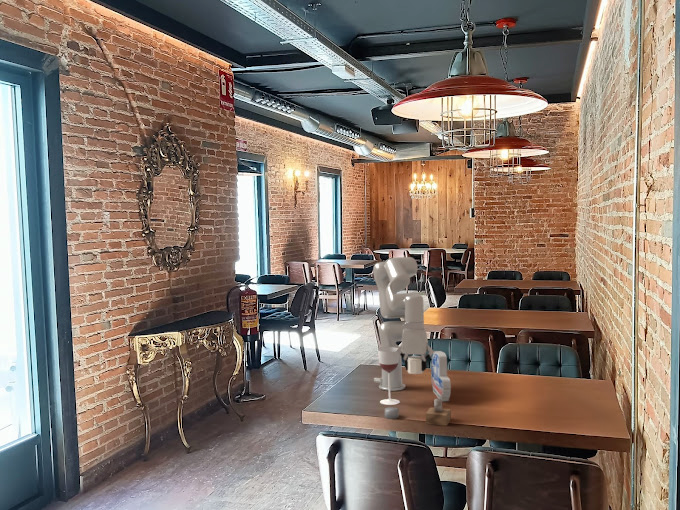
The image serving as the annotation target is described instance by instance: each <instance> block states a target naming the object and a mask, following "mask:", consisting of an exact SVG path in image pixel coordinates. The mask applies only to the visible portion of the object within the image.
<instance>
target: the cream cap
mask: <svg viewBox="0 0 680 510" xmlns="http://www.w3.org/2000/svg"><path fill="white" fill-rule="evenodd" d="M422 360H423V359H422V357H421V355H420V356H419V355H409V357H408V360H407V361H408V370H407V373H408V374H410V375H411V374H412V375H420V374H423V373H424V372H425V370H424V371H422Z"/></svg>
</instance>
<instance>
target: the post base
mask: <svg viewBox="0 0 680 510" xmlns="http://www.w3.org/2000/svg"><path fill="white" fill-rule="evenodd" d="M433 402H434V403H433V406H434V407H430V408H428V410H427V411H426V412H425V424H426V425H433V426H434V425H436V426H448V425H449V423H450V421H452V410H451V408H443V402H442V399H439V398H435V399H434V400H433Z"/></svg>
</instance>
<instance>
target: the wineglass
mask: <svg viewBox="0 0 680 510" xmlns="http://www.w3.org/2000/svg"><path fill="white" fill-rule="evenodd" d="M397 349H398V348H395V347H384V348H381V347H379V348H378V349H377V355H378V356H377V358H378V363H379V365H380V368H381V370H382V369H383V370H385V371H386V372H388V390H389V391H388V398H386V399H382V400H380V401H379V403H380V404H381V405H387V406H392V405H397V404H399V403H401V402H400V400H398V399H395V398H391V397H392V396H391V394H392V393H391V392H392V391H391V390H390V372H391V371H393V370H394V369H396V367H397V365H398V362H399V353H398V352H397Z"/></svg>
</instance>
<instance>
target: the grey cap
mask: <svg viewBox="0 0 680 510" xmlns="http://www.w3.org/2000/svg"><path fill="white" fill-rule="evenodd" d="M399 411H400V410H399V408H398V407H393V406H390V407H385V408H384V418H385V419H389V420H394V419H398V418H399V417H400V415H399V413H400V412H399Z"/></svg>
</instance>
